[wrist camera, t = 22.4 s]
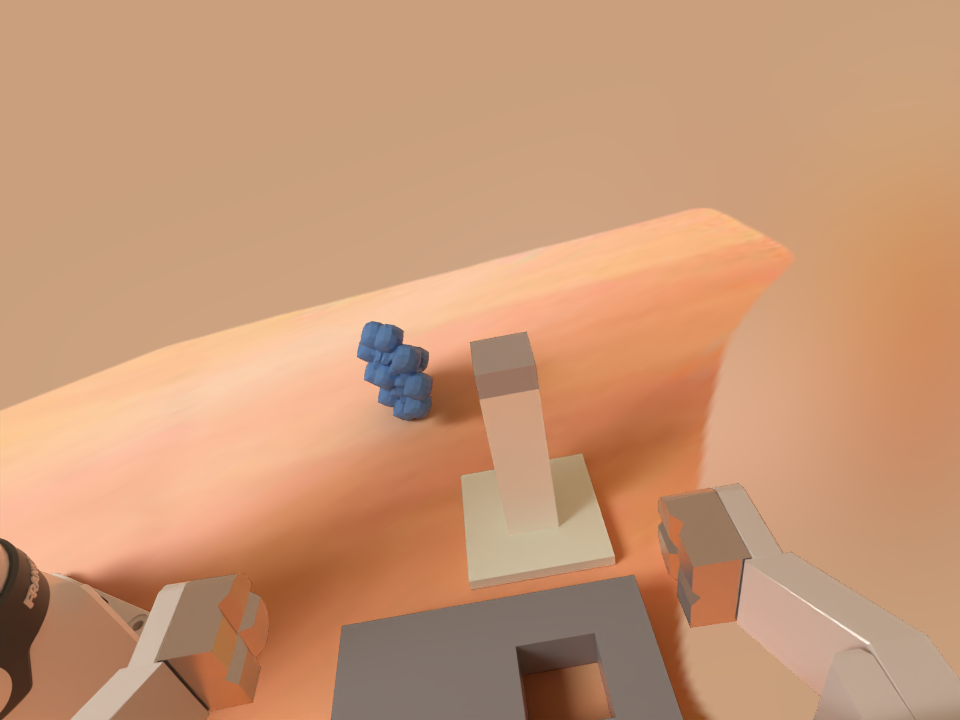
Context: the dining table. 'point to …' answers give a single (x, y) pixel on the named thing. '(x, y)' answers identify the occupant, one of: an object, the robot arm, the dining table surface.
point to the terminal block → (503, 656)
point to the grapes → (396, 370)
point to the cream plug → (515, 431)
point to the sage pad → (538, 551)
